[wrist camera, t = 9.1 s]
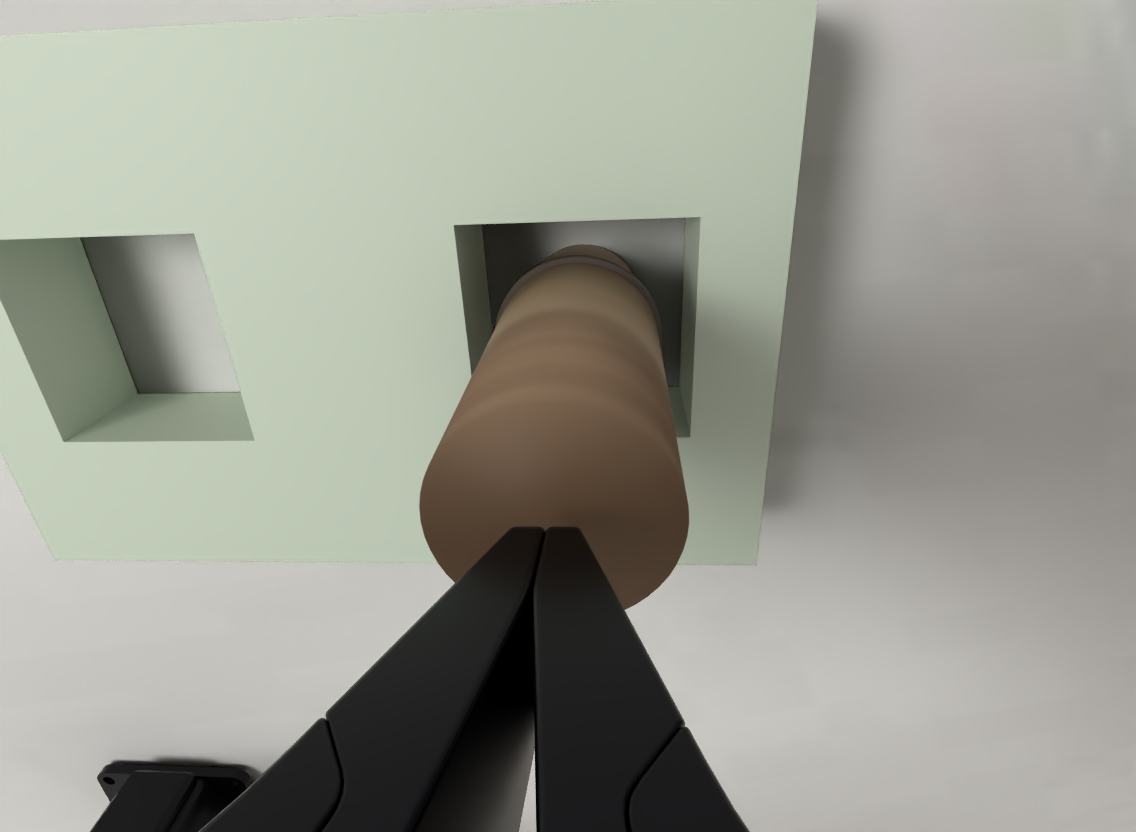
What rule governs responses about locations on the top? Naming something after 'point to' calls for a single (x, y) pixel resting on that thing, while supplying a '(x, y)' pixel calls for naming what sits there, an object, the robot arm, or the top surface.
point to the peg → (566, 428)
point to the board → (376, 253)
